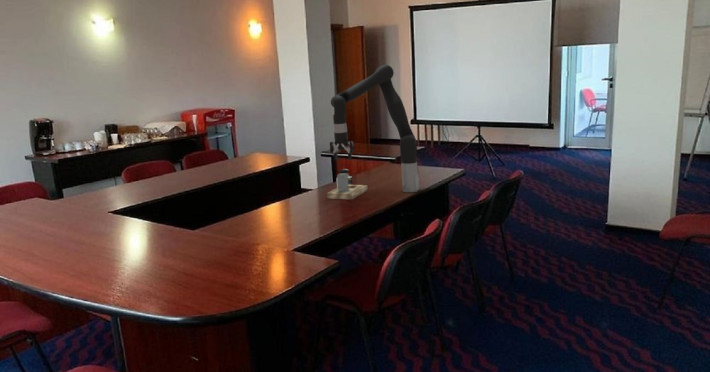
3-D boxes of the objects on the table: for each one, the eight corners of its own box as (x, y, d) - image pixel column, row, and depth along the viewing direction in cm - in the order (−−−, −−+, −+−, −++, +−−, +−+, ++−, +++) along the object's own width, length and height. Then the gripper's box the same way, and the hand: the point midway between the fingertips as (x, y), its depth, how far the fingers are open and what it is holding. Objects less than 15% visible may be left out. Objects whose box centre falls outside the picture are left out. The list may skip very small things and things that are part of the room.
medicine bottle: (345, 190, 347) (344, 171, 344) (336, 189, 351) (335, 170, 348) (352, 187, 352) (351, 168, 350) (344, 186, 357) (342, 168, 354)
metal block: (348, 190, 328) (347, 173, 326) (345, 192, 324) (344, 175, 322) (341, 189, 330) (340, 173, 328) (338, 191, 326) (337, 174, 324)
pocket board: (367, 191, 339) (367, 184, 338) (352, 201, 320) (352, 193, 319) (343, 190, 346) (343, 184, 345) (327, 199, 326) (326, 192, 325)
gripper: (354, 130, 320) (356, 158, 323) (332, 130, 326) (334, 158, 329) (349, 132, 313) (351, 160, 317) (326, 132, 319) (328, 160, 323)
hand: (342, 159), depth 323 cm, fingers open, 8 cm apart
